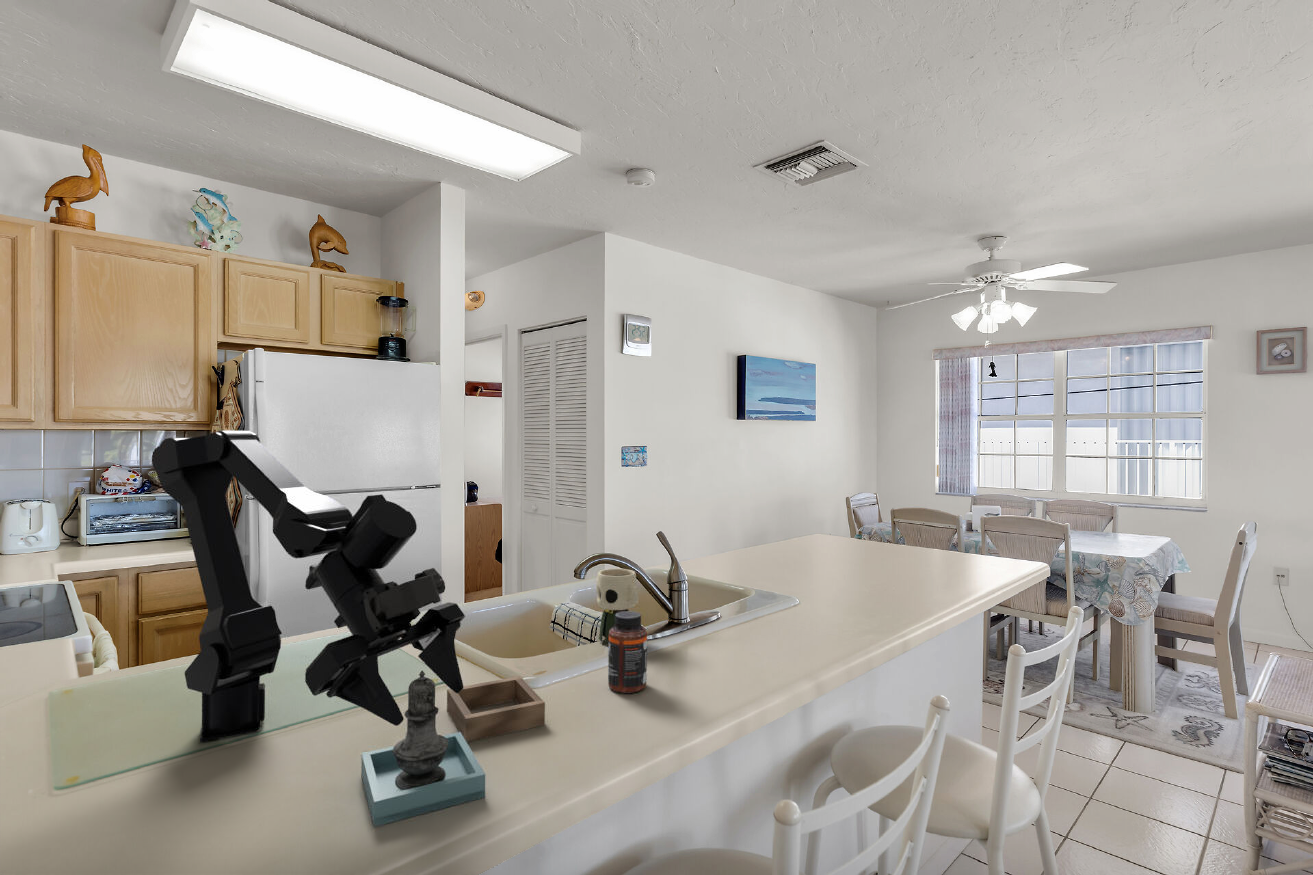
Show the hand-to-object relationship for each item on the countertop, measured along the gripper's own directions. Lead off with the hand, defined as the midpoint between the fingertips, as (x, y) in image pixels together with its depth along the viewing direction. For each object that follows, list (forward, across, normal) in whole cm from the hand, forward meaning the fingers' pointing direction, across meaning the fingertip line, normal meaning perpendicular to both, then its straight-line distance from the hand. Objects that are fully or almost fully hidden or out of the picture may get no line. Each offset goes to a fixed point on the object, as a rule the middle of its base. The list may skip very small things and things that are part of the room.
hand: (432, 705), depth 72 cm
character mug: (+3, +53, +10) cm, 54 cm away
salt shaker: (+5, 0, +7) cm, 9 cm away
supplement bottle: (+11, +35, +2) cm, 37 cm away
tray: (+6, 0, +8) cm, 9 cm away
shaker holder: (+3, +17, +10) cm, 20 cm away
